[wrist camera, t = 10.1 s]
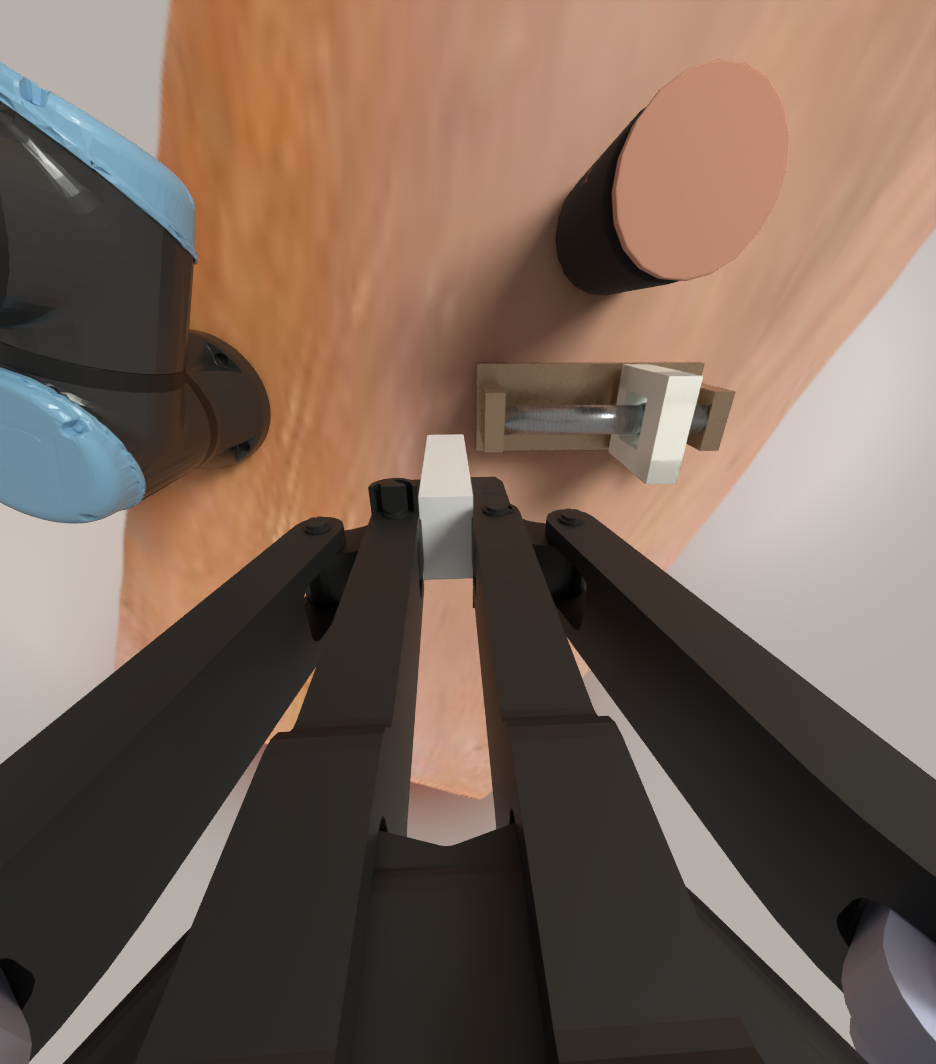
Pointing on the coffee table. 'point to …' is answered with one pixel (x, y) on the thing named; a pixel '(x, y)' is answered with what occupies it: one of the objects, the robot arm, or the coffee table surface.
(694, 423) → the rail
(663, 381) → the collar
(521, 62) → the coffee table surface
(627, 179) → the coffee jar
